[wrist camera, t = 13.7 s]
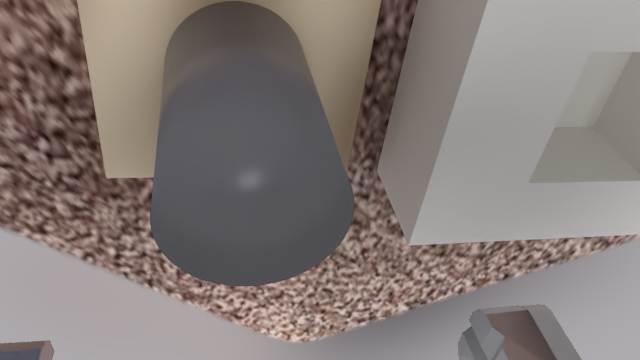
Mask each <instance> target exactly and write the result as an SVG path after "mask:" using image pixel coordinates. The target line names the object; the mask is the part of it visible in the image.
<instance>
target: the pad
mask: <svg viewBox="0 0 640 360" xmlns="http://www.w3.org/2000/svg"><path fill="white" fill-rule="evenodd" d="M226 1H242V2H249V3H253V4H257V5H260V6H262V7H265V8H267V9H269V10H271V11H273V12H274V13H276V14H277V15H279V16H280V17H281V18H283V19H284V20H285V21H286V22H287V23H288V24H289V25H290V27H291V28H292V29H293V31H294V32H295V34H296V35H297V37H298V39H299V41H300V44H301V46H302V49H303V52H304V55H305V57H306V60H307V63H308V66H309V69H310V72H311V74H312V77H313V80H314V83H315V86H316V88H317V91H318V94H319V97H320V100H321V103H322V105H323V108H324V111H325V114H326V117H327V120H328V122H329V125H330V128H331V131H332V134H333V136H334V139H335V142H336V145H337V148H338V151H339V153H340V156H341V159H342V162H343V165H344V167H345V170H346V173H347V172H348V167H349V162H350V157H351V151H352V146H353V141H354V136H355V131H356V126H357V121H358V116H359V111H360V106H361V101H362V96H363V91H364V86H365V80H366V75H367V70H368V65H369V60H370V55H371V50H372V45H373V40H374V35H375V30H376V25H377V20H378V15H379V9H380V4H381V0H77V3H78V9H79V15H80V22H81V28H82V34H83V40H84V46H85V52H86V58H87V64H88V70H89V77H90V83H91V89H92V95H93V101H94V107H95V113H96V119H97V125H98V132H99V138H100V144H101V150H102V156H103V162H104V168H105V174H106V178H154V169H155V158H156V148H157V137H158V127H159V116H160V106H161V95H162V85H163V74H164V64H165V55H166V50H167V47H168V43H169V41H170V39H171V37H172V35H173V33H174V32H175V30H176V29H177V27H178V26H179V25H180V24H181V23H182V22H183V21H184V20H185V19H186V18H187V17H188V16H190V15H191V14H192V13H194V12H196V11H197V10H199V9H201V8H203V7H206V6H208V5H211V4H215V3H219V2H226Z"/></svg>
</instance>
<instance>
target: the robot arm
mask: <svg viewBox="0 0 640 360" xmlns="http://www.w3.org/2000/svg"><path fill="white" fill-rule="evenodd" d="M469 321H470V323H471V325H472V326H471V327H470V328H468V329H467V330H466V331H464V332H463V333H462V336H461V338H460V340H459V342H458V355H459V360H581V358H580V356H579V355H578V353H577V352H576V350H575V348H574V347H573V345H572V344H571V342H570V340H569V339H568V337H567V336H566V334H565V332H564V331H563V329H562V328H561V326H560V324H559V323H558V321H557V320H556V318H555V317H554V315H553V313H552V312H551V310H550V309H549V308H548V307H546V306H545V305H528V306H510V307H499V308H498V307H497V308H486V309H478V310H476V311H474V312H473V313H472V315H471V317H470V319H469ZM53 354H54V349H53V347H52V344H51V342H50V340H49V341H33V342H19V343H18V342H17V343H3V344H2V343H1V344H0V360H52V359H53Z"/></svg>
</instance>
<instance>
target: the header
mask: <svg viewBox="0 0 640 360" xmlns="http://www.w3.org/2000/svg"><path fill="white" fill-rule="evenodd" d="M377 172H378V175H379V177H380V179H381V182H382V184H383V186H384V189H385V191H386V193H387V196H388V198H389V200H390V203H391V205H392V207H393V210H394V212H395V214H396V217H397V219H398V221H399V224H400V226H401V229H402V231H403V233H404V236H405V238H406V240H407V243H408V245H428V244H449V243H470V242H491V241H512V240H533V239H554V238H575V237H596V236H617V235H638V234H640V0H418V2H417V6H416V10H415V14H414V19H413V23H412V27H411V31H410V35H409V39H408V43H407V48H406V52H405V56H404V60H403V64H402V68H401V73H400V77H399V81H398V85H397V89H396V93H395V98H394V102H393V106H392V110H391V114H390V118H389V122H388V127H387V131H386V135H385V139H384V143H383V147H382V152H381V156H380V160H379V164H378V168H377Z"/></svg>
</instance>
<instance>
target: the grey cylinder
mask: <svg viewBox="0 0 640 360" xmlns="http://www.w3.org/2000/svg"><path fill="white" fill-rule="evenodd" d="M353 213H354V196H353V191H352V187H351V184H350V182H349V179H348V176H347V173H346V170H345V167H344V165H343V162H342V159H341V156H340V153H339V151H338V148H337V145H336V142H335V139H334V136H333V134H332V131H331V128H330V125H329V122H328V120H327V117H326V114H325V111H324V108H323V105H322V103H321V100H320V97H319V94H318V91H317V88H316V86H315V83H314V80H313V77H312V74H311V72H310V69H309V66H308V63H307V60H306V57H305V55H304V52H303V49H302V46H301V44H300V41H299V39H298V37H297V35H296V34H295V32H294V31H293V29H292V28H291V27H290V25H289V24H288V23H287V22H286V21H285V20H284V19H283V18H281V17H280V16H279V15H277V14H276V13H274V12H273V11H271V10H269V9H267V8H265V7H262V6H260V5H257V4H253V3H249V2H242V1H226V2H219V3H215V4H211V5H208V6H206V7H203V8H201V9H199V10H197V11H196V12H194V13H192V14H191V15H190V16H188V17H187V18H186V19H185V20H184V21H183V22H182V23H181V24H180V25H179V26H178V27H177V29H176V30H175V32H174V33H173V35H172V37H171V39H170V41H169V43H168V47H167V50H166V55H165V64H164V74H163V85H162V95H161V106H160V116H159V127H158V137H157V148H156V158H155V169H154V180H153V190H152V201H151V211H150V224H151V229H152V234H153V236H154V239H155V241H156V243H157V245H158V247H159V248H160V250H161V251H162V253H163V254H164V255H165V256H166V257H167V258H168V259H169V260H170V261H171V262H172V263H173V264H174V265H175V266H177V267H178V268H180V269H181V270H183V271H184V272H186V273H188V274H190V275H192V276H194V277H197V278H200V279H202V280H205V281H209V282H213V283H216V284H223V285H230V286H256V285H264V284H270V283H275V282H279V281H282V280H286V279H289V278H291V277H294V276H297V275H299V274H301V273H303V272H305V271H307V270H309V269H311V268H312V267H314V266H316V265H317V264H319V263H320V262H321V261H323V260H324V259H325V258H326V257H328V256H329V255H330V254H331V253H332V252H333V251H334V250H335V249H336V248H337V246H338V245H339V244H340V243H341V241H342V240H343V238H344V237H345V235H346V233H347V231H348V229H349V227H350V225H351V222H352V218H353Z"/></svg>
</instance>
